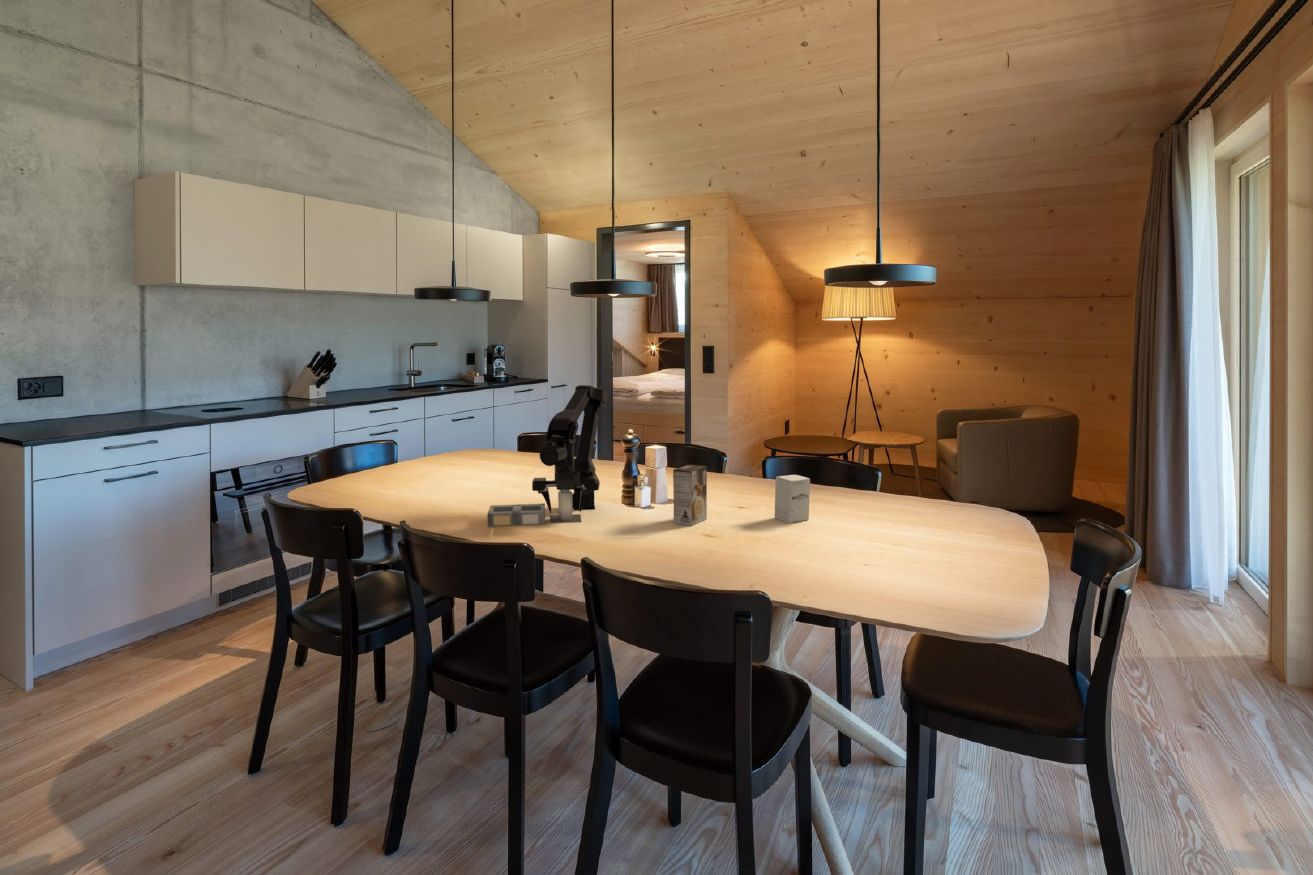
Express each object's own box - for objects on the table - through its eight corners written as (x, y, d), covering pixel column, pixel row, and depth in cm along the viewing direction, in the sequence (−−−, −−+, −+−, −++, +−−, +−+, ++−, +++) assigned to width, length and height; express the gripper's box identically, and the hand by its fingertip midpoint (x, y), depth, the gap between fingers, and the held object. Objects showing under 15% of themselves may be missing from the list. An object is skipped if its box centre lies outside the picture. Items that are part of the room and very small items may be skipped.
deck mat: (580, 515, 222) (580, 514, 222) (581, 523, 213) (581, 522, 213) (550, 516, 221) (550, 515, 221) (550, 524, 212) (550, 523, 212)
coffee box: (688, 516, 221) (688, 463, 218) (707, 519, 217) (707, 465, 215) (672, 523, 213) (672, 468, 210) (692, 526, 209) (692, 471, 207)
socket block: (545, 516, 221) (544, 503, 221) (544, 525, 211) (544, 512, 210) (490, 518, 219) (490, 505, 218) (487, 527, 209) (487, 514, 208)
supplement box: (789, 523, 212) (790, 480, 210) (773, 517, 219) (774, 476, 217) (809, 520, 215) (810, 478, 214) (793, 514, 222) (794, 473, 220)
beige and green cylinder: (572, 516, 219) (571, 487, 218) (572, 520, 215) (571, 490, 214) (558, 517, 219) (558, 487, 217) (558, 520, 215) (558, 490, 213)
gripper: (530, 466, 205) (532, 520, 208) (597, 464, 208) (598, 517, 210) (532, 458, 216) (533, 510, 218) (595, 457, 219) (596, 508, 221)
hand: (565, 512), depth 217 cm, fingers open, 8 cm apart
